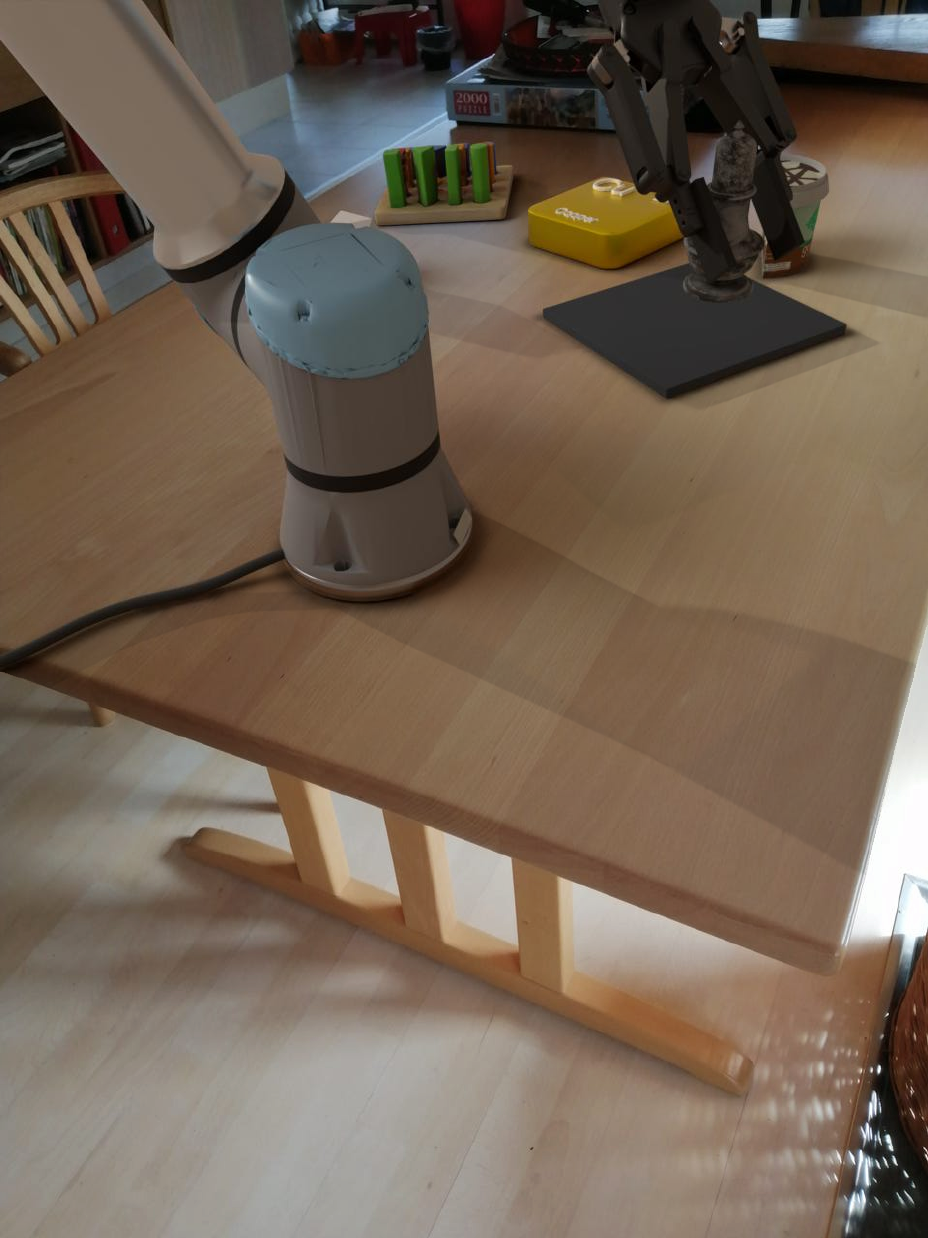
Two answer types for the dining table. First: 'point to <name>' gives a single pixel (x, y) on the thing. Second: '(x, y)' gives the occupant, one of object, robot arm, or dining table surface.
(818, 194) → the food container
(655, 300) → the mat
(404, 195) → the peg board
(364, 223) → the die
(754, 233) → the salt shaker
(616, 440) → the dining table surface
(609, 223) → the element tile
